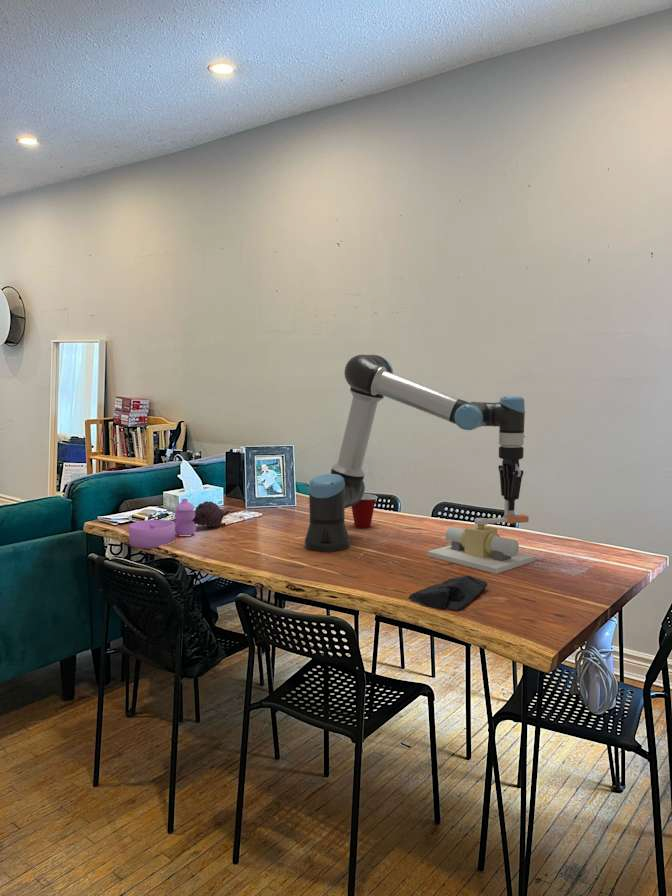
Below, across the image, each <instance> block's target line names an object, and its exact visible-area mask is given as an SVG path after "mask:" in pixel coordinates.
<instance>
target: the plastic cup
mask: <svg viewBox="0 0 672 896" xmlns="http://www.w3.org/2000/svg"><path fill="white" fill-rule="evenodd" d="M378 498H379V497H378V496H377V495H374V494H369V493H364V495H363V497H362V498H361V500H360V501H359V502H357V503H356V504H355V505H353V506H351V511H352V517H353V523H354V527H355V528H357V529H358V528H359V529H366V528H367V527H368V528H371V525H372V519H373V516H374V510H375V505H376V503H377V502H376V501H377V499H378Z"/></svg>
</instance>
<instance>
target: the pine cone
mask: <svg viewBox="0 0 672 896" xmlns="http://www.w3.org/2000/svg"><path fill="white" fill-rule="evenodd" d="M194 511H195V518H194V519H193V520H192V521H193V522H194V523H195V525H198V526H207V527H208V528H214V527H217V526H220V525H221V523H222V521H223V519H224V517H226V516H228V515H229V513H230V510H228V509H222V508H221V507H219V505H218V504H217V503H215V502H213V501H207V500H205V501H204V502H203V503H199V504H198V505H197V506H196V507H195V509H194Z"/></svg>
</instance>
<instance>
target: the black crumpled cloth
mask: <svg viewBox="0 0 672 896" xmlns="http://www.w3.org/2000/svg"><path fill="white" fill-rule="evenodd" d="M487 587H488V582H487V581H485V580H482V579H479V578H476V577H475V576H471V575H464V576H458V577H453V578H448V579H447V580H445V581H443V582H441V583H438V584H433V585H430V586H427V587H425V588H422V589H420V590H418V591H415V592H413V593H412V594H410V595H409V596H408V599H409V600H410V602H413V603H417V604H421V605H424V606H426V607H429V608H435V609H439V610H447V611H451V610H453V611H454V612H455V611H457V612H459V611H460V610H462V608H463V607H464V608H465V606H467V605H469V604H470V603H472V602H473V601H474V599H475V598H476V597H477V596H479V595H480V594H481V593H482V591H484V590H485V589H486V588H487Z"/></svg>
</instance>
